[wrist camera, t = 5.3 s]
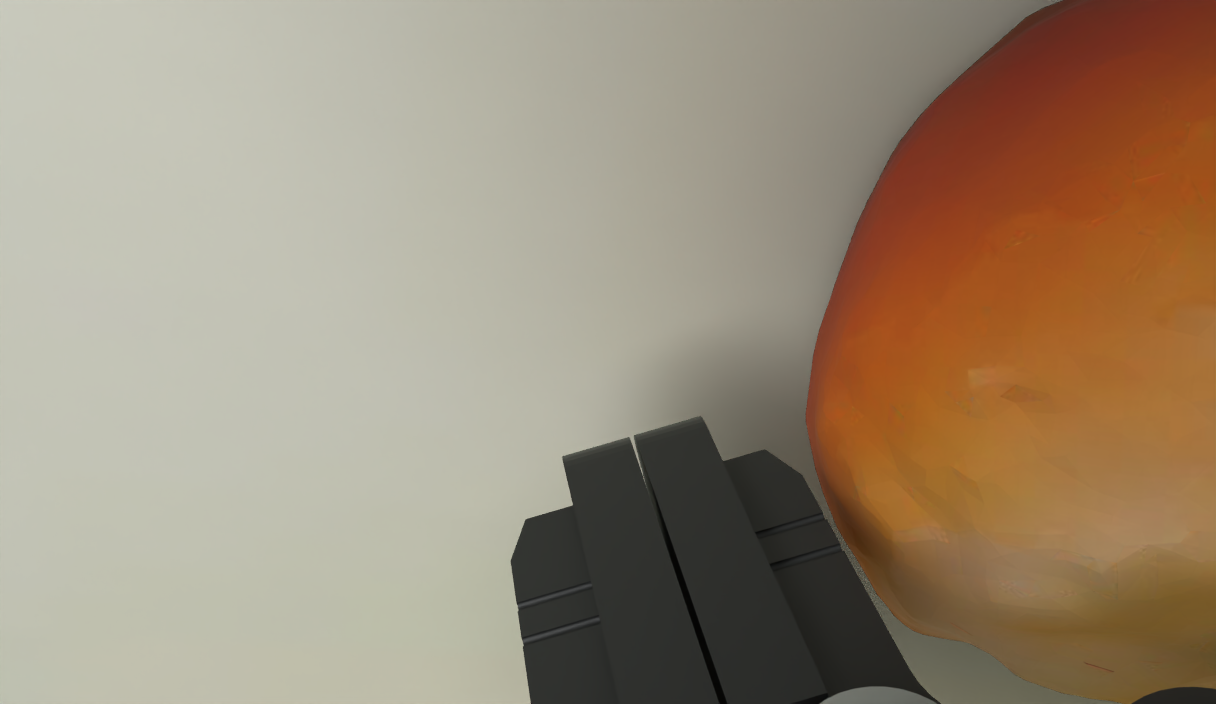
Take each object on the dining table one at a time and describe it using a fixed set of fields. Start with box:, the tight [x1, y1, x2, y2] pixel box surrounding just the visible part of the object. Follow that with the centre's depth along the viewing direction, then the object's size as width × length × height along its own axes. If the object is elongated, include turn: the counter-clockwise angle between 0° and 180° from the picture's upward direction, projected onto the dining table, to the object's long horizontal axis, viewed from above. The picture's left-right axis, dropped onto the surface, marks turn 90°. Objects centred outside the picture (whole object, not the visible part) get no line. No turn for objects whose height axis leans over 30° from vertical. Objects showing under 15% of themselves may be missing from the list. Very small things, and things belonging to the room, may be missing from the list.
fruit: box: [806, 0, 1216, 704], centre depth 11 cm, size 8×8×8 cm
